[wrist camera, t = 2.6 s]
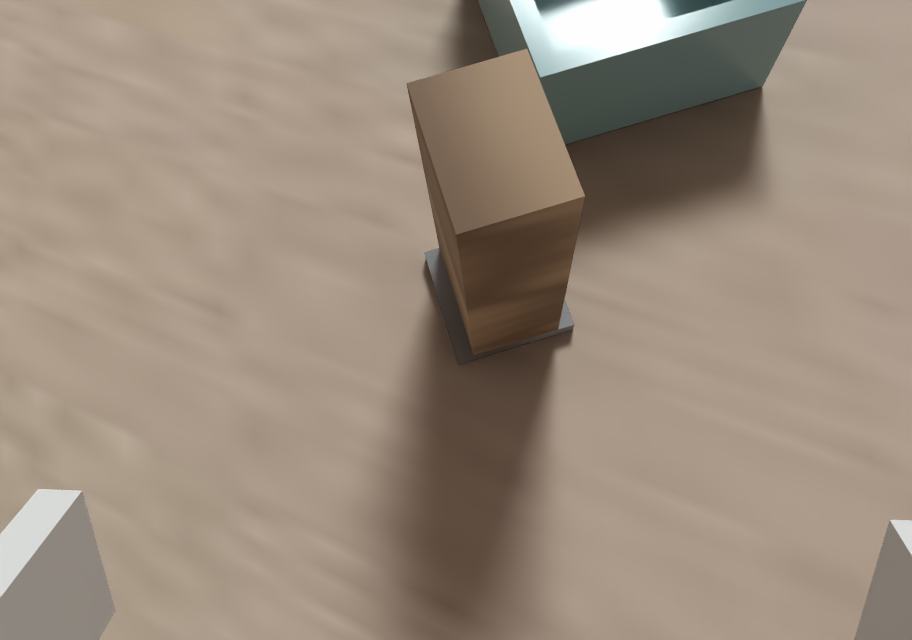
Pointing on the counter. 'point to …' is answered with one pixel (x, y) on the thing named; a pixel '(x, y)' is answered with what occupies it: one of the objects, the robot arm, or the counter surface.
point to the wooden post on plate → (497, 204)
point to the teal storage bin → (640, 53)
